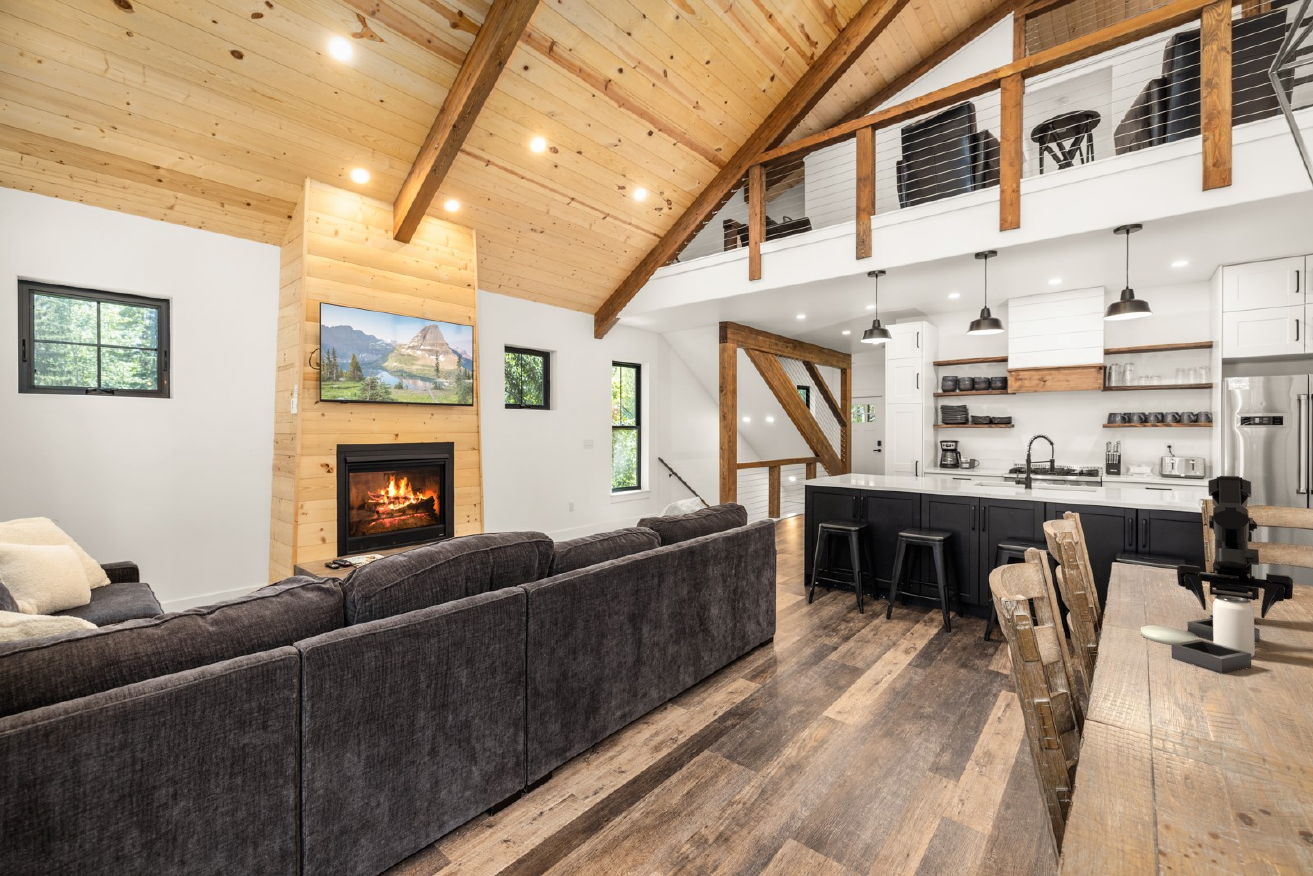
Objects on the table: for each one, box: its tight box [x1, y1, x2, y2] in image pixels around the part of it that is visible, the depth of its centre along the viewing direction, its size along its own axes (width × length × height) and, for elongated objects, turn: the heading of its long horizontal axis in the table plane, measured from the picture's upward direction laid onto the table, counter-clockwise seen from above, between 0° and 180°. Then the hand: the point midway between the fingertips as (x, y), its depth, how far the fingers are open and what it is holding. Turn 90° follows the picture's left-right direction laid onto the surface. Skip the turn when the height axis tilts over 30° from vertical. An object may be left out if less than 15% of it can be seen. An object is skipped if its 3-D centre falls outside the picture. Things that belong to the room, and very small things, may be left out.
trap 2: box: [1186, 617, 1261, 643], centre depth 138 cm, size 9×9×3 cm
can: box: [1212, 595, 1256, 658], centre depth 129 cm, size 6×6×12 cm
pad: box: [1140, 624, 1198, 646], centre depth 138 cm, size 10×10×2 cm
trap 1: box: [1170, 638, 1252, 674], centre depth 124 cm, size 9×9×3 cm
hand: (1233, 612), depth 129 cm, fingers open, 9 cm apart
